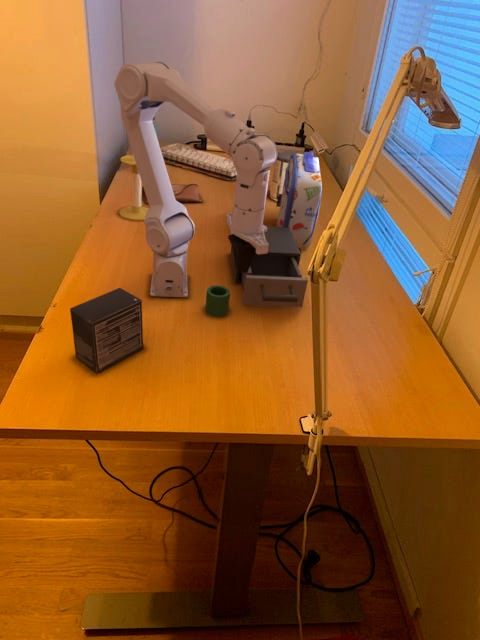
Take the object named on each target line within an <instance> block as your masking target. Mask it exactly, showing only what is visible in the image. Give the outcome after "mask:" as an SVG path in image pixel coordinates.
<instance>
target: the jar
mask: <svg viewBox="0 0 480 640" xmlns="http://www.w3.org/2000/svg"><path fill="white" fill-rule="evenodd" d="M205 295H206V296H205V313H206V314H207V315H209V316H211V317H215V318H222V317H225V316H227V315H228V314H229V309H230V308H229V307H230V298H231V290H230V288H228V287H226V286H224V285H219V284H217V285H216V284H215V285H211V286H209V287H207V289H206V294H205Z"/></svg>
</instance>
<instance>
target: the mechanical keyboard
mask: <svg viewBox="0 0 480 640" xmlns="http://www.w3.org/2000/svg"><path fill="white" fill-rule="evenodd" d="M160 149H161V152H162V156H163V159H164V163H165V164H169V165H173V166H177V167H181V168H182V169H185V170H188V171H195V172H198V173H201V174H205V175H207V176H211V177H214V178H218V179H221V180H225V181H235V180H237V179H236V174H237V172H236V168H235V167H234V164H233V161H232V159H230V158H226V157H224V156H221V155H217V154H214V153H210V152H207V151H203V150H200V149H198V150H197V149H196V148H192V147H191V146H190V145H187V144H183V143H180V142H175V143H171V144H168V145H165V146H162V147H161V146H160Z"/></svg>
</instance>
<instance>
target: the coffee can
mask: <svg viewBox="0 0 480 640" xmlns="http://www.w3.org/2000/svg"><path fill="white" fill-rule="evenodd" d="M293 153H294V154H296V153H298V154H302V155H304V153H300V152H297V151H289V150H288V151H287V150H282V151H281V150H280V151H278V156H277V160H276V162H275V163H274V164H273V171H272V177H271V178H272V179H271V185H270V193H269V198H270V199H271V200H273V201H274V202H277V199H278V196H279V194H282V192H283V185H284V181H285V174H286V168H287V163H288V164H289V160H290V157H291V155H292V154H293Z"/></svg>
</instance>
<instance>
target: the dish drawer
mask: <svg viewBox="0 0 480 640" xmlns="http://www.w3.org/2000/svg"><path fill="white" fill-rule="evenodd" d="M240 275H241V280H242V284H241V285H242V289H243V296H242V306H256V307H257V306H259V307H284V308H285V307H287V308H303V305H304V301H305V295H306V291H307V286H308V278H307V277H302V275H303V274H302V273H301V270H300V267H298V265H297V263H296V260H295V258H294V256H275V255H255V256H254V258H253V260H252V263H251V265H250V267H249V270H248V272H244V273H240Z"/></svg>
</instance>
